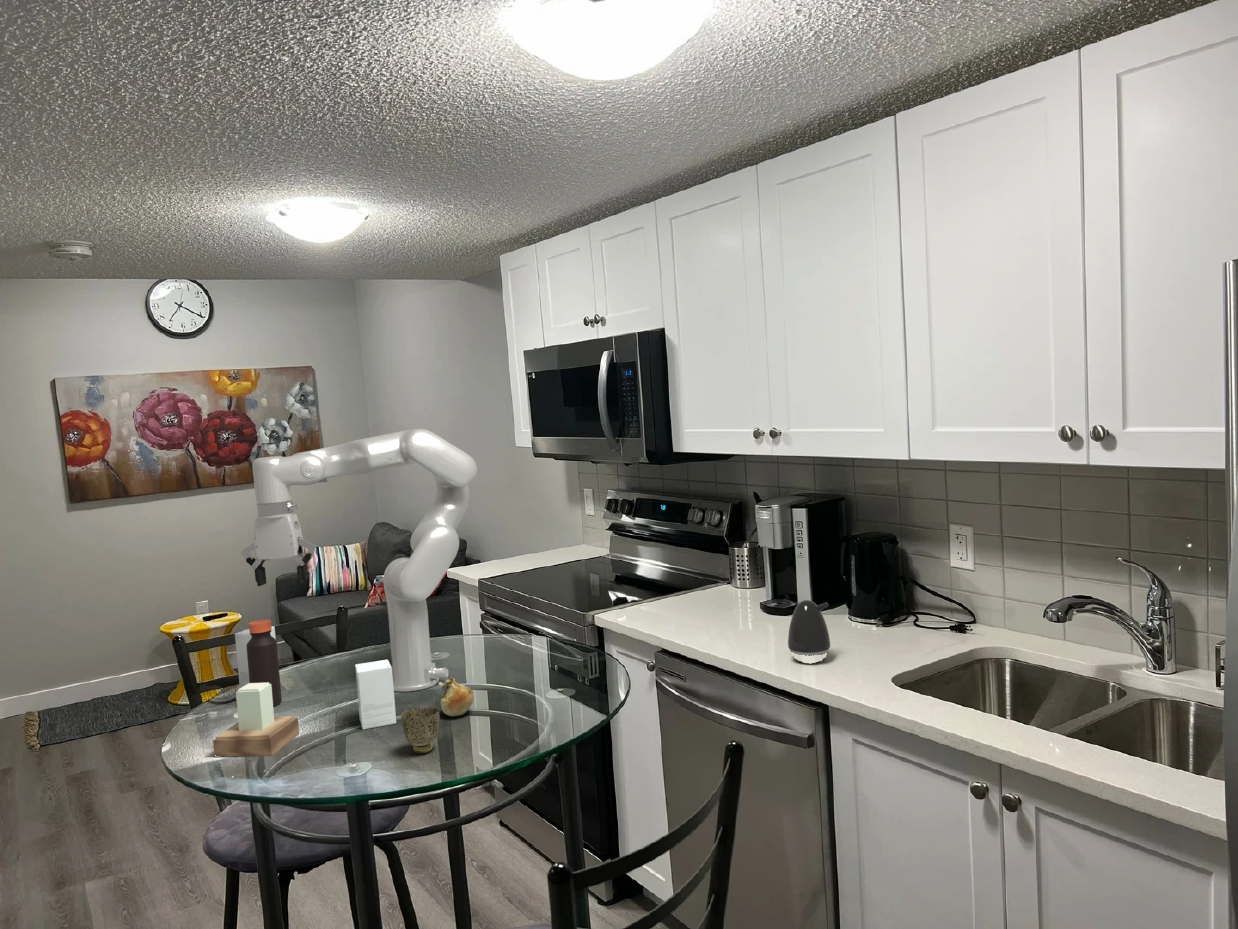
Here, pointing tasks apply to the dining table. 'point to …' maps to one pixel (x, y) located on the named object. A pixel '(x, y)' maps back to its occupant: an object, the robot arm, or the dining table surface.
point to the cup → (421, 727)
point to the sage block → (255, 706)
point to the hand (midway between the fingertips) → (282, 583)
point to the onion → (455, 698)
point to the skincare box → (244, 654)
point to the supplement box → (375, 694)
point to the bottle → (264, 658)
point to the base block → (257, 739)
